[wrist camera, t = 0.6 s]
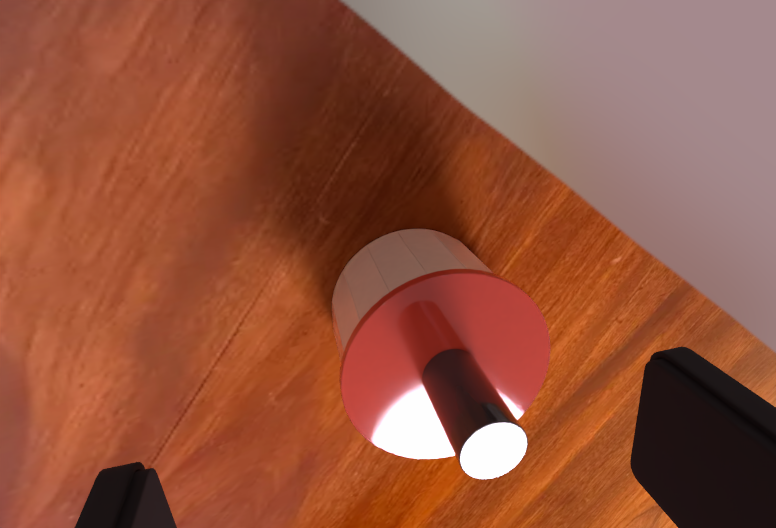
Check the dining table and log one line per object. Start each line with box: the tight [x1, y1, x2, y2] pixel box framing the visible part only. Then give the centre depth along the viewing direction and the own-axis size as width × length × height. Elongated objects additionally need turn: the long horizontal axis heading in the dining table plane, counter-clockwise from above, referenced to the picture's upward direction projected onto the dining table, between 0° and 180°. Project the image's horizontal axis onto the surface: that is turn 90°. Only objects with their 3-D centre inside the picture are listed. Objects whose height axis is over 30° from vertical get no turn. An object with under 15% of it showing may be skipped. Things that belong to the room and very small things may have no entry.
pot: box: [332, 229, 493, 362], centre depth 29 cm, size 10×10×8 cm
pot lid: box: [340, 269, 550, 479], centre depth 23 cm, size 11×11×7 cm
